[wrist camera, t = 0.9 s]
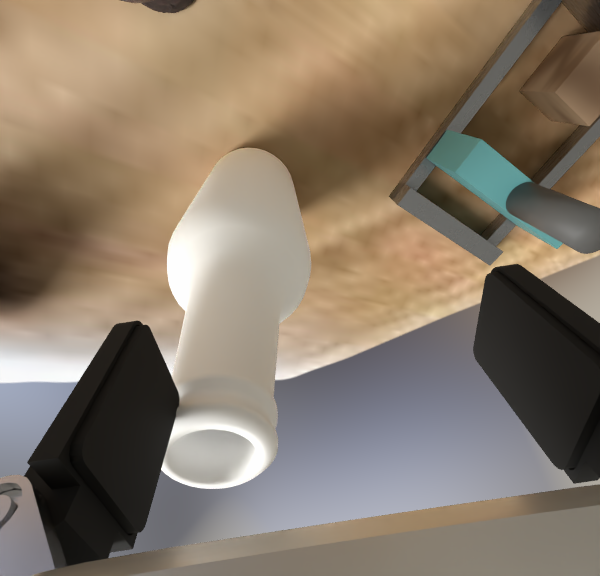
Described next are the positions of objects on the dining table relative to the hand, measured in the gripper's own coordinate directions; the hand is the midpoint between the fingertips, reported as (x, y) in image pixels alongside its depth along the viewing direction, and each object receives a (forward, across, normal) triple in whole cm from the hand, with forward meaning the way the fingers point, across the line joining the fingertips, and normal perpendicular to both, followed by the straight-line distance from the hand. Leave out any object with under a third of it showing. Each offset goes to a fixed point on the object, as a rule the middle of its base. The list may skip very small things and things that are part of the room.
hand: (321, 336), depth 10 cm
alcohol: (+29, +4, +3) cm, 30 cm away
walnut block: (+29, -27, -3) cm, 40 cm away
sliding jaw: (+27, -20, +5) cm, 34 cm away
